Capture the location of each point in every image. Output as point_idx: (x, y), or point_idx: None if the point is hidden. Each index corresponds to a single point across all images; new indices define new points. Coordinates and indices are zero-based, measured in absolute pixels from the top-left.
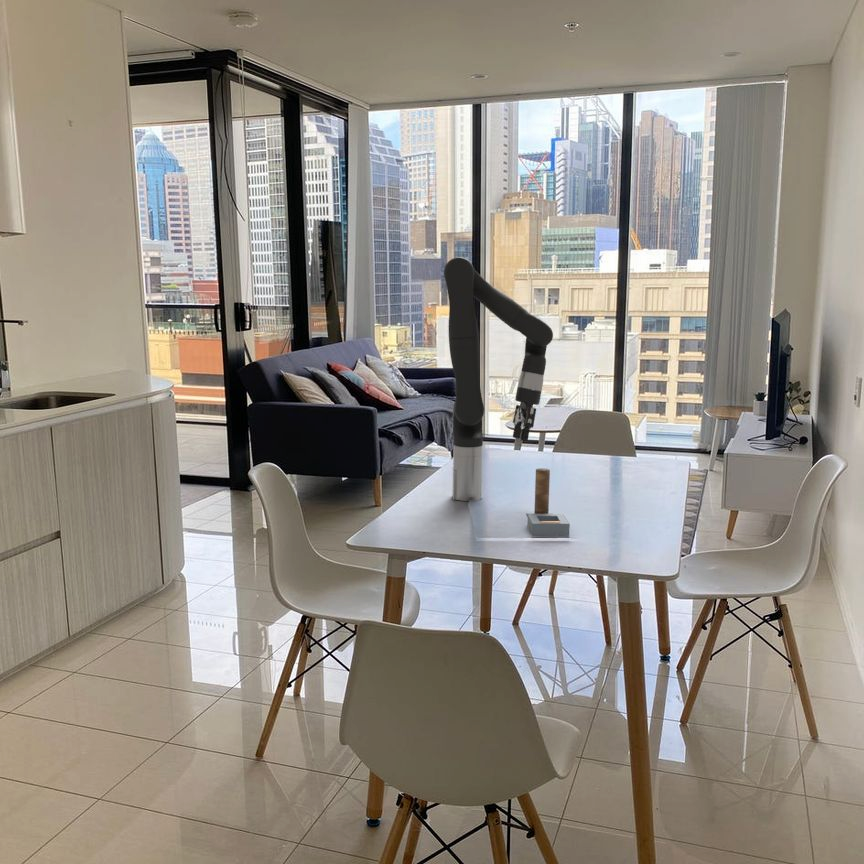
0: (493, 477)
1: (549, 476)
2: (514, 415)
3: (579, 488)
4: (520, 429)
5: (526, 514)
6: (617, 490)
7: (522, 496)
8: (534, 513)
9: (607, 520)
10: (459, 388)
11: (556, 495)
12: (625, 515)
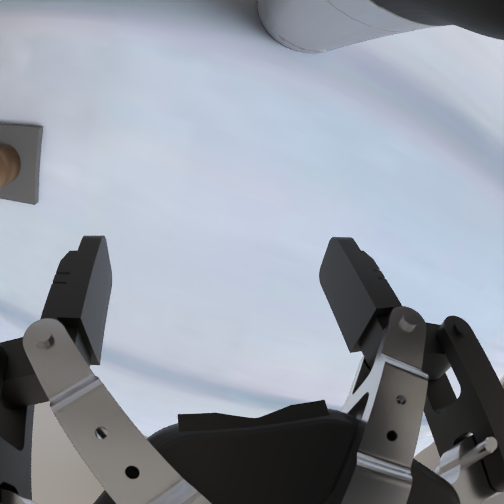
0: (486, 198)
1: None
2: (489, 377)
3: (315, 353)
4: (344, 329)
5: (30, 127)
6: (271, 404)
7: (282, 190)
8: (2, 146)
9: (25, 308)
10: None
11: (265, 288)
12: None
